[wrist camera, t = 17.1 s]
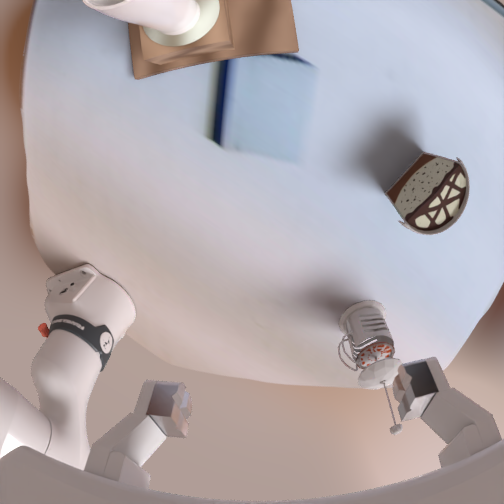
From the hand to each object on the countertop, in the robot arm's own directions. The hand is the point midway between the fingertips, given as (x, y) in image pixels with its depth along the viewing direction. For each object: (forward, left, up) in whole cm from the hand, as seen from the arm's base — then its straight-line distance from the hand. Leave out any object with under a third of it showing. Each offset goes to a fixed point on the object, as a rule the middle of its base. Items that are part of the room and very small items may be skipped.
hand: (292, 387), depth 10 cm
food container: (+22, -4, -34) cm, 41 cm away
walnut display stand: (-6, +24, -34) cm, 42 cm away
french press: (+14, -30, -34) cm, 48 cm away
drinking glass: (-8, +21, -26) cm, 35 cm away
